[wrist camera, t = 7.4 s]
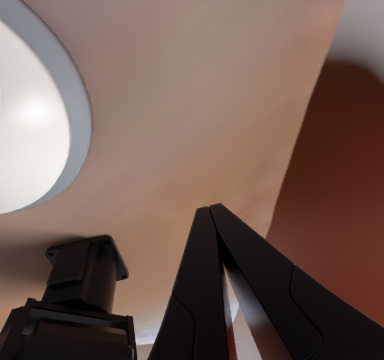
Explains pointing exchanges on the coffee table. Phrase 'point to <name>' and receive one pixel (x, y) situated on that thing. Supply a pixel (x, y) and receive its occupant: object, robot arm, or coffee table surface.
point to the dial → (29, 123)
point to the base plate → (68, 82)
